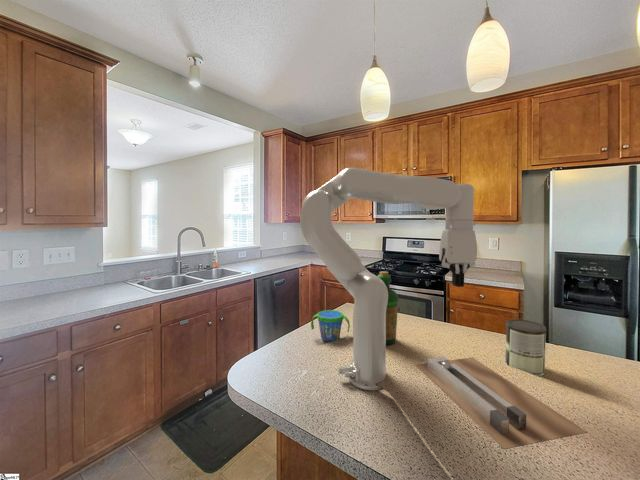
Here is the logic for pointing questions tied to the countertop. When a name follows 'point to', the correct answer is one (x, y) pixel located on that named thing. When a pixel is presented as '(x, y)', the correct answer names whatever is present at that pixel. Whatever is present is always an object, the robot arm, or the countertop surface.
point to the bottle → (390, 310)
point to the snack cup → (330, 324)
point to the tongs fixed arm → (469, 396)
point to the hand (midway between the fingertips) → (458, 285)
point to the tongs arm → (489, 396)
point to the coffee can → (526, 346)
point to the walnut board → (538, 415)
